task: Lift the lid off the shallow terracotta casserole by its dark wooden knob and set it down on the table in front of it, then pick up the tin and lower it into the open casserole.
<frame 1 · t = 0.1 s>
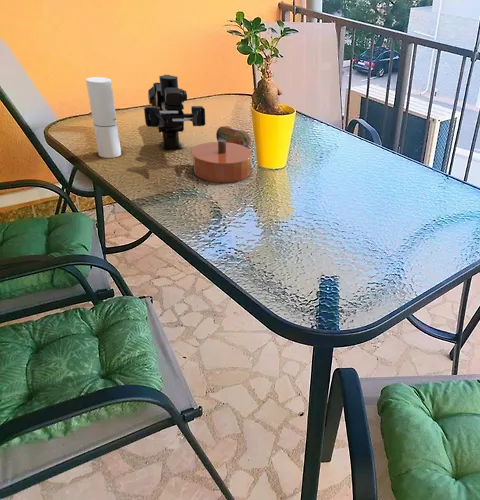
hand: (179, 124, 147), 17 cm above the table, tool horizontal, fingers open, 9 cm apart
tin: (233, 150, 179), on the table
pot: (222, 171, 161), on the table
lid: (222, 153, 157), point 6 cm above the table, touching pot
cylindrical container: (110, 154, 162), on the table
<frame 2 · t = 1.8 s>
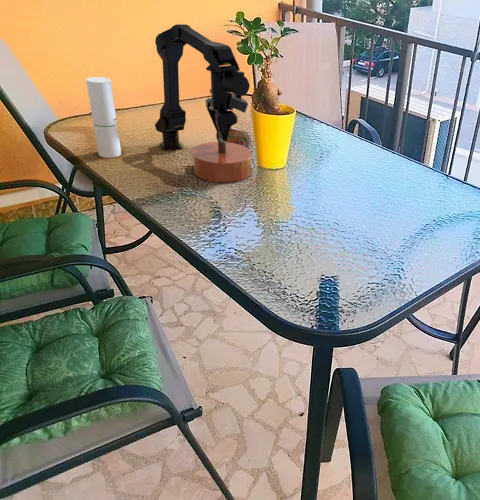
hand: (221, 136, 154), 13 cm above the table, tool pointing down, fingers open, 9 cm apart
nothing on the table moved.
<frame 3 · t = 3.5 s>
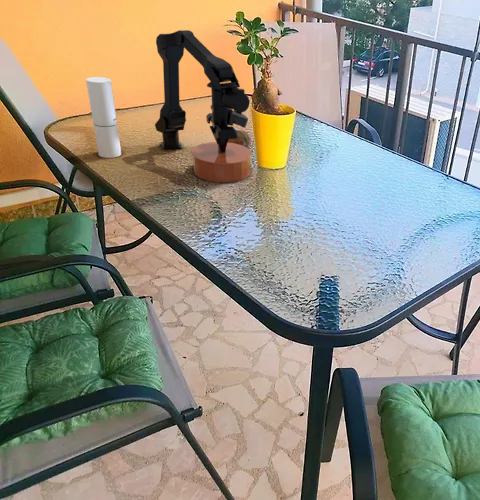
hand: (222, 150, 157), 8 cm above the table, tool pointing down, fingers closed on lid, 3 cm apart
lid: (222, 153, 157), point 6 cm above the table, touching gripper, pot
everything else where it was.
when the fingers open (2 cm above the table, at t = 9.2 s): lid stays where it is, point 1 cm above the table.
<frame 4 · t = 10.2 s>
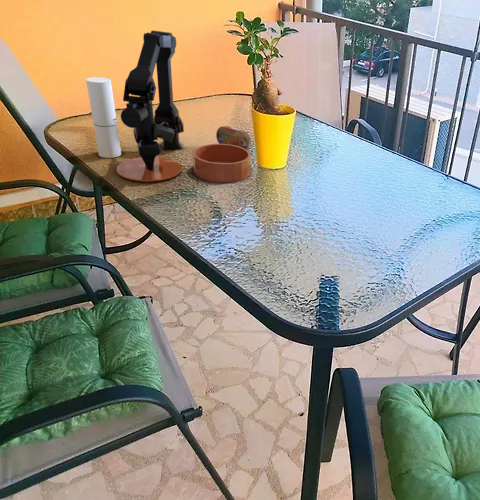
hand: (149, 165, 153), 2 cm above the table, tool pointing down, fingers open, 9 cm apart
lid: (149, 169, 154), point 1 cm above the table
everything else where it was.
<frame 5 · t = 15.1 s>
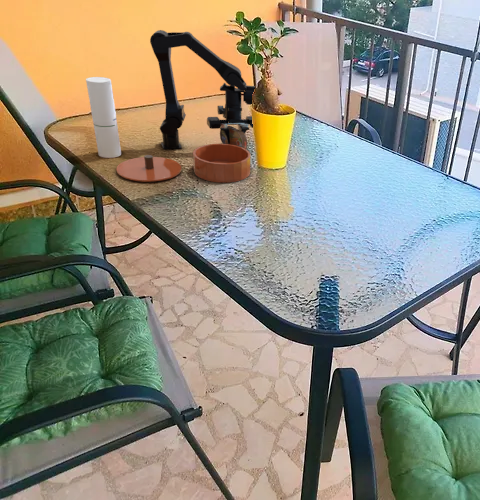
hand: (233, 144, 178), 2 cm above the table, tool pointing down, fingers closed on tin, 3 cm apart
tin: (234, 149, 179), on the table, touching gripper
everything else where it was.
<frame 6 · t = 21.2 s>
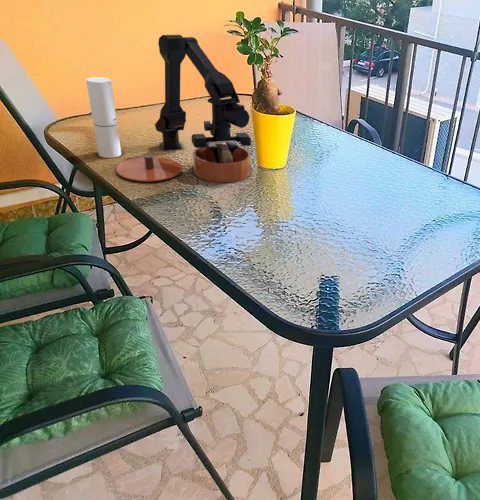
hand: (222, 163, 159), 3 cm above the table, tool pointing down, fingers closed on tin, 3 cm apart
tin: (223, 170, 161), resting on pot, touching gripper
everything else where it was.
when the fingers open (3 cm above the table, at t = 21.3 s): tin stays where it is, resting on pot.
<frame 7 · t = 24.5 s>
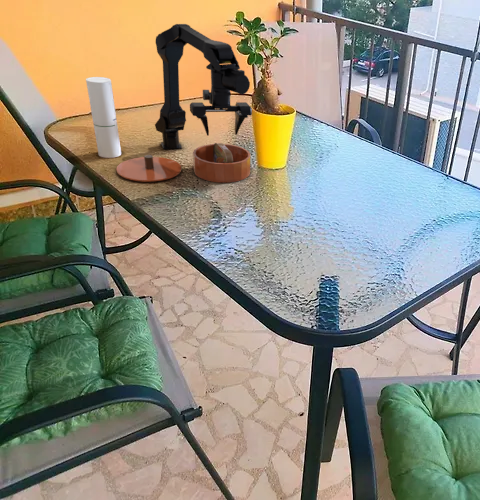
hand: (221, 134, 154), 13 cm above the table, tool pointing down, fingers open, 9 cm apart
tin: (223, 170, 161), resting on pot
everything else where it was.
at the end: lid inside the target area (0.1 cm from its centre), point 0.6 cm above the table; tin inside the target area in the pot (0.3 cm from its centre), point 0.3 cm above the pot's base; the gripper is holding nothing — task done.
